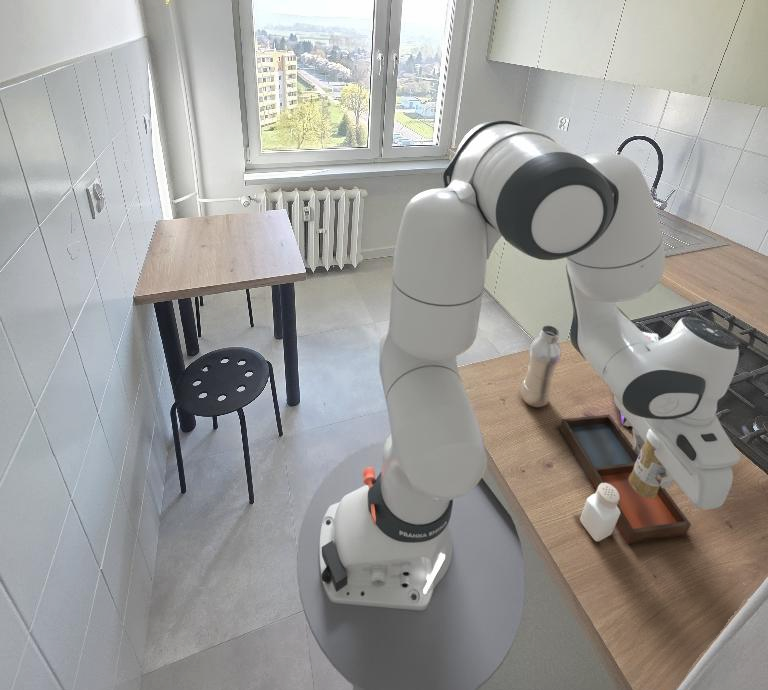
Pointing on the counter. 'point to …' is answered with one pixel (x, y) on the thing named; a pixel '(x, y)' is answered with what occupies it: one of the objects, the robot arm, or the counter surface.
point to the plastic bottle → (541, 367)
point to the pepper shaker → (601, 512)
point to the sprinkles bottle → (647, 468)
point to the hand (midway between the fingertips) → (650, 467)
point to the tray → (622, 479)
